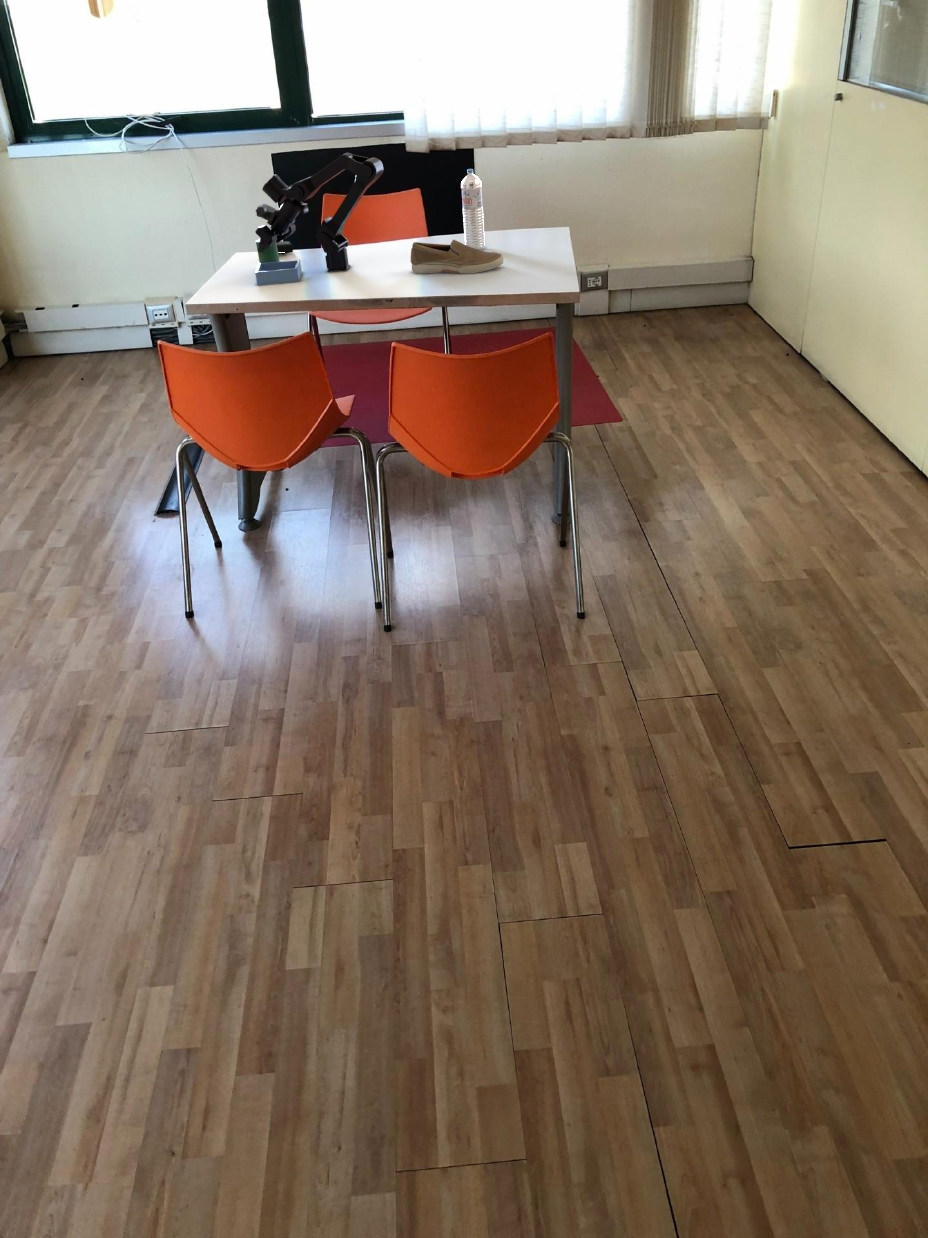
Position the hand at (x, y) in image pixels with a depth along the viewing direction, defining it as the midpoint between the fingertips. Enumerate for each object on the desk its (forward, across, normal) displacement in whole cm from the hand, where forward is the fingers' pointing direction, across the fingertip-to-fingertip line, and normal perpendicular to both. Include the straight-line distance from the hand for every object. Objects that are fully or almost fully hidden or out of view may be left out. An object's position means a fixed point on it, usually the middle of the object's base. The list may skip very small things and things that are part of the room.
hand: (263, 248), depth 322 cm
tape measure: (+8, -21, +2) cm, 23 cm away
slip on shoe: (-44, +1, +53) cm, 69 cm away
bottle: (+4, 0, +6) cm, 7 cm away
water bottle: (-42, -27, +51) cm, 72 cm away
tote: (-3, +12, +12) cm, 18 cm away
